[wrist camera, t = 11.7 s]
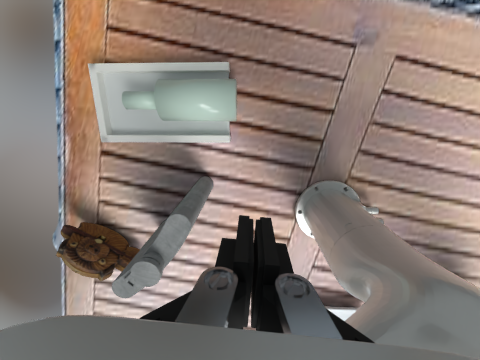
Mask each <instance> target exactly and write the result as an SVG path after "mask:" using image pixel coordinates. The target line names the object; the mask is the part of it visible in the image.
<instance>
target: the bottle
mask: <svg viewBox="0 0 480 360" xmlns="http://www.w3.org/2000/svg"><path fill="white" fill-rule="evenodd" d="M122 103H123V105H124V107H125V108H126V109H132V110H157V113H158V115H159V117H160V118H161V119H162V120H163V121H236V120H237V81H236V79H158V80H157V81H156V84H155V89H154V91H124V92H123V93H122Z"/></svg>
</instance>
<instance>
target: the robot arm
mask: <svg viewBox="0 0 480 360" xmlns="http://www.w3.org/2000/svg"><path fill="white" fill-rule="evenodd" d="M315 187H316V189H314V188H315ZM344 188H345V189H344ZM298 210H300V211H298ZM378 212H379V210H378V208H377V207H365V206H364V205H363V204H361V202H360V199H359V196H358V195H357V193H356V192H355V191H354V190H353V189H352V188H351V187H350V186H348V185H347V184H345V183H342V182H340V181H335V180H325V181H320V182H317V183H315V184H313V185H311V186H309V187H308V188H307V189H306V190H304V192H303V193H302V194H301V195H300V197H299V198H298V200H297V203H296V207H295V217H296V221H297V223H298V225H299V227H300V228H301V230H302V231H303V232H304V233H305V234H306V235H308V236H309V237H311V238H314V239H315V240H316V242H317V244H318V246H319V248H320V250H321V252H322V253H323V255H324V257H325V259H326V261H327V263H328V265H329V267H330V268H331V270H332V272H333V274H334V276H335V278H336V279H337V281H338V282H339V284H340V285H341V286H342V287H343V288H344V289H345V290H346V291H347V292H348V293H350V294H351V295H352V296H354V297H356V298H358V299H360V300H362V301H364V302H365V303H364V304H363V305H362V306H361V307H359V308H358V309H357V310H356V312H355V313H353V314H352V315H351V316H350V317H349V318H348V319H346V320H345V321H343V320H342V319H341V318H339V317H338V316H336V315H335V314H333V313H332V312H331V311H329V310H328V309H326V308H325V307H324V305H323V303H322V301H321V300H320V298H319V296H318V294H317V292H316V291H315V289H314V287H313V286H312V284H311V283H310V282H309V281H308V280H307V279H305V278H304V277H302V276H300V275H296V274H294V272H293V269H292V265H291V261H290V258H289V254H288V250H287V247H286V244H282V243H276V242H275V237H274V232H273V226H272V221H271V218H264V217H260V220H256V227H255V236H253V219H249V216H242V215H239V222H238V230H237V238H236V239H228V238H222V241H221V245H220V249H219V253H218V257H217V261H216V265H215V267H212V268H209V269H207V270H205V271H204V272H203V273H202V274H201V276H200V277H199V279H198V281H197V283H196V285H195V286H194V288H193V290H192V291H190V292H188V293H187V294H185V295H183V296H181V297H179V298H177V299H175V300H173V301H171V302H169V303H167V304H165V305H164V306H162V307H160V308H158V309H156V310H154V311H152V312H150V313H148V314H146V315H144V316H143V317H141V318H140V319H135V318H125V317H110V316H94V315H67V316H59V317H49V318H43V319H38V320H34V321H29V322H24V323H20V324H17V325H14V326H10V327H8V328H5V329H2V330H0V360H480V288H478V287H477V286H475V285H473V284H471V283H470V282H468V281H466V280H464V279H463V278H461V277H459V276H457V275H456V274H454V273H452V272H450V271H449V270H447V269H445V268H443V267H442V266H440V265H438V264H437V263H435V262H434V261H432V260H430V259H429V258H427V257H426V256H424V255H423V254H421V253H420V252H419V251H417V250H416V249H415V248H413V247H412V246H410V245H409V244H408V243H406V242H405V241H404V240H403V239H401V238H400V237H399V236H397V235H396V234H395V233H394V232H392V231H391V230H390V229H389V228H387V227H386V226H385V225H384V221H383V219H382V218H375V217H374V216H373V215H371V214H378ZM250 297H251V328H256V331H254V330H245V329H243V327H247V325H248V316H249V307H250Z"/></svg>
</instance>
